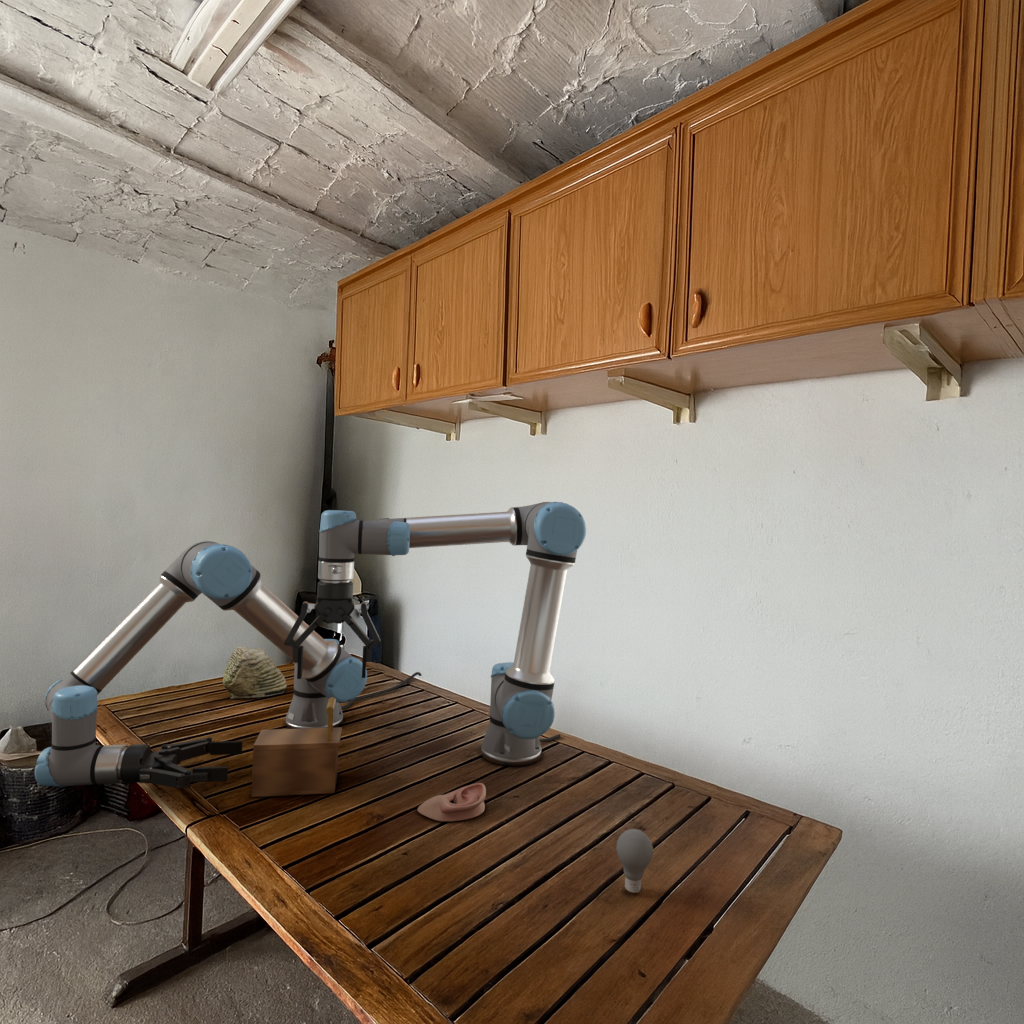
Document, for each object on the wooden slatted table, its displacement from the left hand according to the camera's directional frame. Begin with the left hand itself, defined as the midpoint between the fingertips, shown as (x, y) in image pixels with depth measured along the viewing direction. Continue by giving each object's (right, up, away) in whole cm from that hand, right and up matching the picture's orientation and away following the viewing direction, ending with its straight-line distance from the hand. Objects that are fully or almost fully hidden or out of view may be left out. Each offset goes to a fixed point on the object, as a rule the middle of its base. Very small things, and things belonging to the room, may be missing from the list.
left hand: (235, 759), depth 135 cm
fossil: (-21, -4, +63) cm, 66 cm away
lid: (+13, +3, +3) cm, 13 cm away
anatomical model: (+47, -8, -5) cm, 48 cm away
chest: (+12, -7, +3) cm, 14 cm away
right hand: (+20, +17, +4) cm, 26 cm away
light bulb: (+79, -10, -30) cm, 85 cm away
